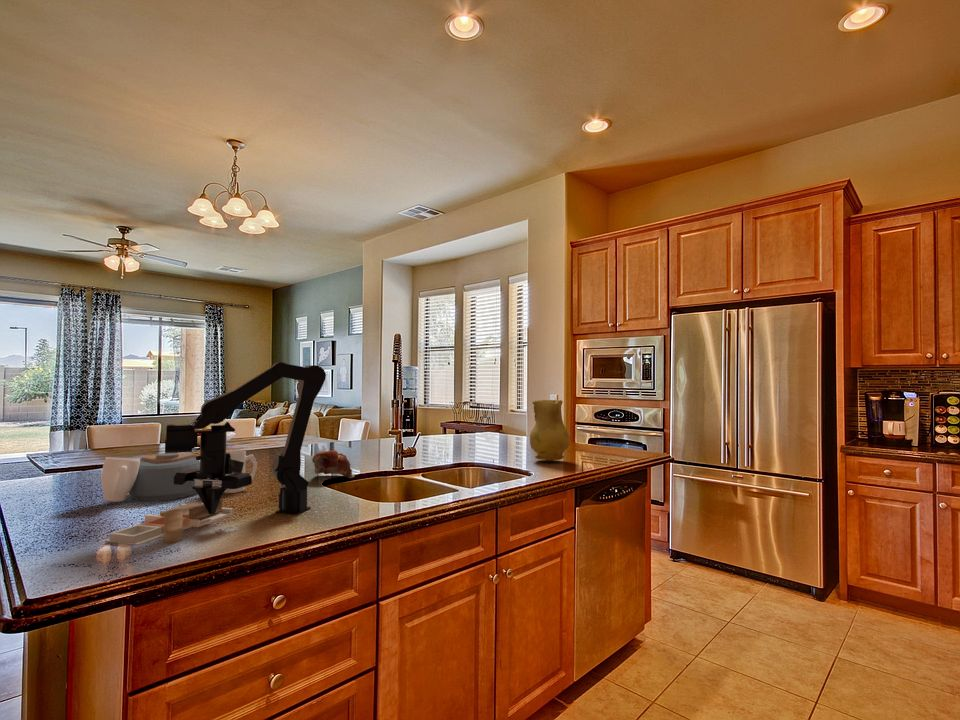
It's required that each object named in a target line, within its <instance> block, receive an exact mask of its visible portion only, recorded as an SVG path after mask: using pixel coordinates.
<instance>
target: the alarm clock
mask: <svg viewBox="0 0 960 720" xmlns="http://www.w3.org/2000/svg"><path fill="white" fill-rule="evenodd" d="M196 456H198V455H197V454H195V453H189V452H182V453H168V454H165V452H162V453H158V454H153V455H148V456H142V457H140V459H139V460H140V465H139V470H138V475H137V478H136V481H135V483H134V485H133V486H132V488H131V490H130V491H129V493H128V494H129V495H130V496H132V499H133V500H136V501H143V502H155V501H156V502H157V501H158V502H159V501H169V500H175V499H177V500H178V499H184V498H187V497H191V496H194V495H198V494H197V492H196V491H195V490H194V489H192V487H194V486H195V481H187V482H186V483H185V484H184V485H176V484H174V476H175V475H176V473H177V472H181V471H186V470H190V469H196V470H200V460H196Z"/></svg>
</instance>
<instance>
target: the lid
mask: <svg viewBox="0 0 960 720" xmlns="http://www.w3.org/2000/svg"><path fill="white" fill-rule="evenodd" d="M185 504H186V505H183V506H181V505H180V506H177V507H174V508H170V509H167V510H164V511H161V512H159V515H160V516H164V513H165V512H166V511H169V510H177V509H180V510H183V517H186V518H189V519H195V520H197V519H200V518H203V517H206V516H208V515H211V514H209V513H208V511H207V509H206V507H205V505H204V503H193V502H190V503H185ZM222 508H223V499H222V500H221V499H220V502H219V504H218V507H217V509H216V512H215V513H217V512H220V511H222Z"/></svg>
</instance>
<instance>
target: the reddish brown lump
mask: <svg viewBox="0 0 960 720" xmlns="http://www.w3.org/2000/svg"><path fill="white" fill-rule="evenodd" d="M311 462H312V464H313V465H314V470H313V471H314V473H315V475H318V474H324V475H331V474H332V475H341V476H343V477H345V478H348V479H352V478H354V477H355V476H356V474H355V475H354V474H353V472H352V469H351V462H350V461H349V460H348V458H347V456H346V454H343V453H339V452H338V450H335V449H333V450H332V449H331V450H323V451H320V452H317V453H315V454H314V455H313V457H312V460H311Z"/></svg>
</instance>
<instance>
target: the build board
mask: <svg viewBox="0 0 960 720" xmlns="http://www.w3.org/2000/svg"><path fill="white" fill-rule="evenodd" d="M189 528H194V527H193V525H192V524H189V518H186V517H183V528H182V531H184V530H186V529H189ZM108 534H109V535H108V536H109V537H108V538H106V539H105V540H104V541H105V542H108V541H109V543H116V542H117V544H124V545H125V544H126V545H132V546H141V545H142V544H146V543H149V542H153V541H155V540H157V539H160V538H164V516H163V517H160V518H157V519H153V520H150V521H144V522H141V523H139V524H136V525H132V526H128V527H125V528H123V529H119V530H116V531H113V532H110V533H108Z"/></svg>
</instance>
